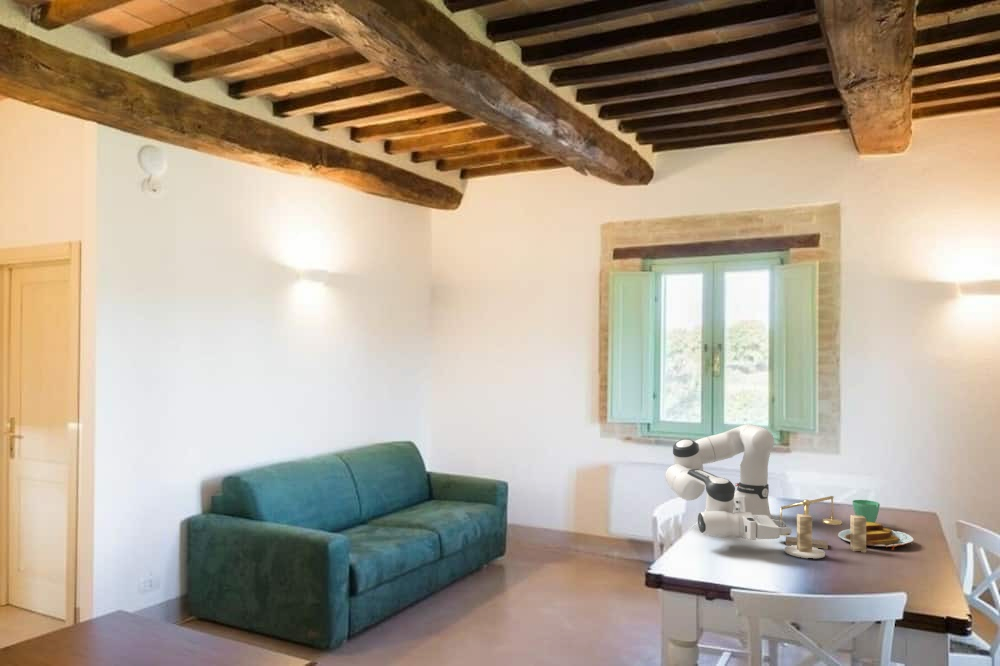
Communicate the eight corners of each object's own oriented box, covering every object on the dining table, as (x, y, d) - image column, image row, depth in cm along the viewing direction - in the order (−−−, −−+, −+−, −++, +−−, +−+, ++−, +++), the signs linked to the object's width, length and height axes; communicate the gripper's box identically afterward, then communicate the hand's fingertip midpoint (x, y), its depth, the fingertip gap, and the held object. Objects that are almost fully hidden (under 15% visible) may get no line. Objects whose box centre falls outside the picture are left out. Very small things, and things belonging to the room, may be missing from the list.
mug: (880, 531, 283) (879, 505, 283) (852, 528, 287) (852, 503, 287) (879, 523, 296) (879, 499, 296) (852, 520, 300) (852, 496, 301)
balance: (771, 543, 262) (771, 492, 263) (772, 538, 269) (772, 489, 269) (842, 551, 253) (842, 498, 254) (841, 546, 259) (841, 495, 260)
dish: (776, 552, 250) (776, 548, 250) (800, 547, 257) (800, 543, 257) (809, 562, 239) (809, 557, 239) (833, 557, 246) (833, 552, 246)
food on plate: (911, 556, 249) (911, 537, 249) (833, 545, 263) (833, 527, 263) (915, 540, 271) (914, 522, 271) (842, 530, 284) (842, 514, 284)
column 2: (854, 551, 253) (854, 517, 253) (850, 548, 256) (850, 515, 257) (866, 552, 252) (866, 518, 252) (862, 549, 256) (862, 515, 256)
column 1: (799, 551, 246) (799, 516, 247) (796, 548, 250) (796, 514, 251) (812, 552, 246) (812, 517, 246) (808, 549, 250) (808, 514, 250)
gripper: (741, 527, 261) (780, 528, 259) (751, 541, 241) (794, 543, 238) (741, 509, 261) (780, 511, 259) (751, 522, 241) (794, 524, 239)
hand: (787, 527), depth 249 cm, fingers open, 8 cm apart
